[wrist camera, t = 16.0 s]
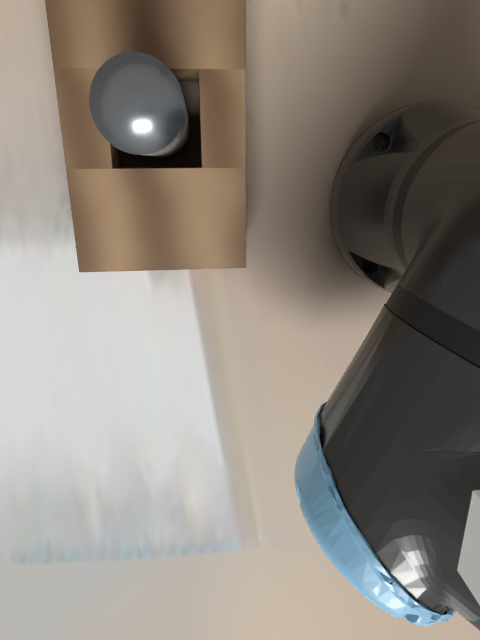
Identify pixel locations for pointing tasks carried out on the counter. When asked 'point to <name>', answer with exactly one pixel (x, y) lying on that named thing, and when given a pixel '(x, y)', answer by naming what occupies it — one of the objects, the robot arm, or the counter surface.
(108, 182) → the socket block
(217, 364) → the counter surface
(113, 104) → the peg
